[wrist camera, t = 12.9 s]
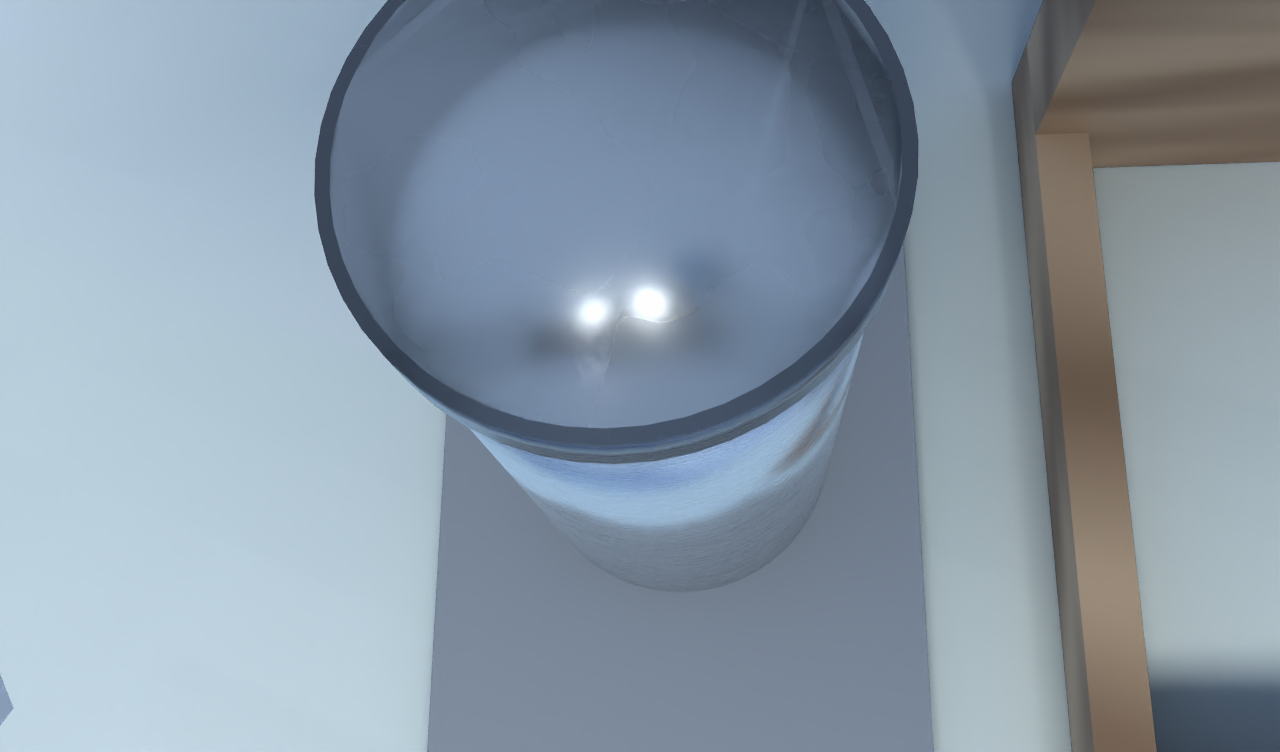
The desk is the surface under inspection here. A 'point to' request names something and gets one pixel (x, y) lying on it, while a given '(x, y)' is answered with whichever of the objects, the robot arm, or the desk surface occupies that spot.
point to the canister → (627, 250)
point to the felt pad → (695, 610)
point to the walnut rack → (1076, 293)
